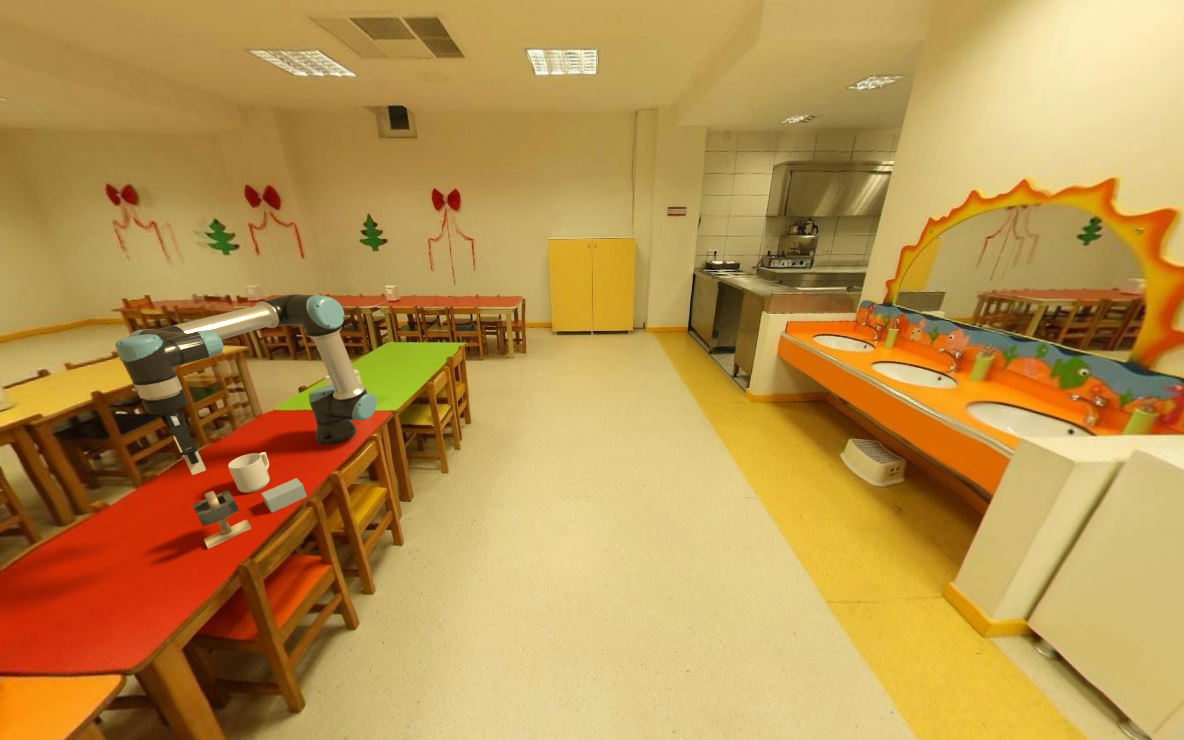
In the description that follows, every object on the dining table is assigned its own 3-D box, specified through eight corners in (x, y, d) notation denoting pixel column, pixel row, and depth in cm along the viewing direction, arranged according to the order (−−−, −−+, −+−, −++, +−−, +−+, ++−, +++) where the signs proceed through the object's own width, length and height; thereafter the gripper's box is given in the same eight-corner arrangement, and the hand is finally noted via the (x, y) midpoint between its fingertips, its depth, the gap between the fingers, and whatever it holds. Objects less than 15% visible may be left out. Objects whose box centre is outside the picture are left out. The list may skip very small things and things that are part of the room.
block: (300, 489, 135) (296, 478, 133) (306, 496, 132) (302, 484, 130) (265, 505, 128) (261, 493, 126) (271, 512, 125) (266, 500, 123)
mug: (257, 494, 133) (246, 468, 128) (232, 494, 133) (220, 468, 128) (283, 473, 144) (274, 448, 140) (260, 472, 144) (250, 448, 140)
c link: (232, 499, 118) (228, 490, 116) (239, 510, 113) (235, 501, 112) (196, 514, 112) (192, 504, 110) (202, 526, 107) (198, 516, 106)
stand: (246, 520, 121) (229, 480, 115) (252, 529, 118) (234, 488, 112) (204, 540, 114) (183, 498, 108) (209, 550, 110) (187, 507, 104)
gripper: (134, 386, 102) (167, 453, 110) (147, 414, 88) (183, 487, 96) (174, 378, 107) (202, 441, 115) (192, 402, 94) (222, 473, 102)
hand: (194, 462), depth 106 cm, fingers open, 13 cm apart
